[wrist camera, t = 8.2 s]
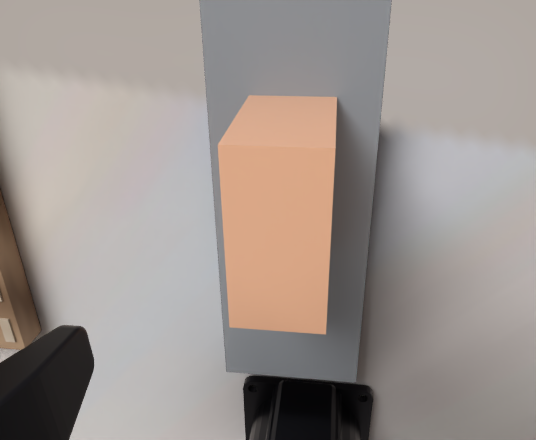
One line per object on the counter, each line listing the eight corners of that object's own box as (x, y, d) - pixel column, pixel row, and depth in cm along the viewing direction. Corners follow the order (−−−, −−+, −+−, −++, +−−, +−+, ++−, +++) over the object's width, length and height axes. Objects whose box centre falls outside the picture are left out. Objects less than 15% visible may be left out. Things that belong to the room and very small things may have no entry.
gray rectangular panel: (355, 359, 24) (359, 484, 18) (232, 349, 25) (200, 467, 19) (401, -154, 15) (438, -218, 9) (201, -146, 15) (119, -201, 10)
